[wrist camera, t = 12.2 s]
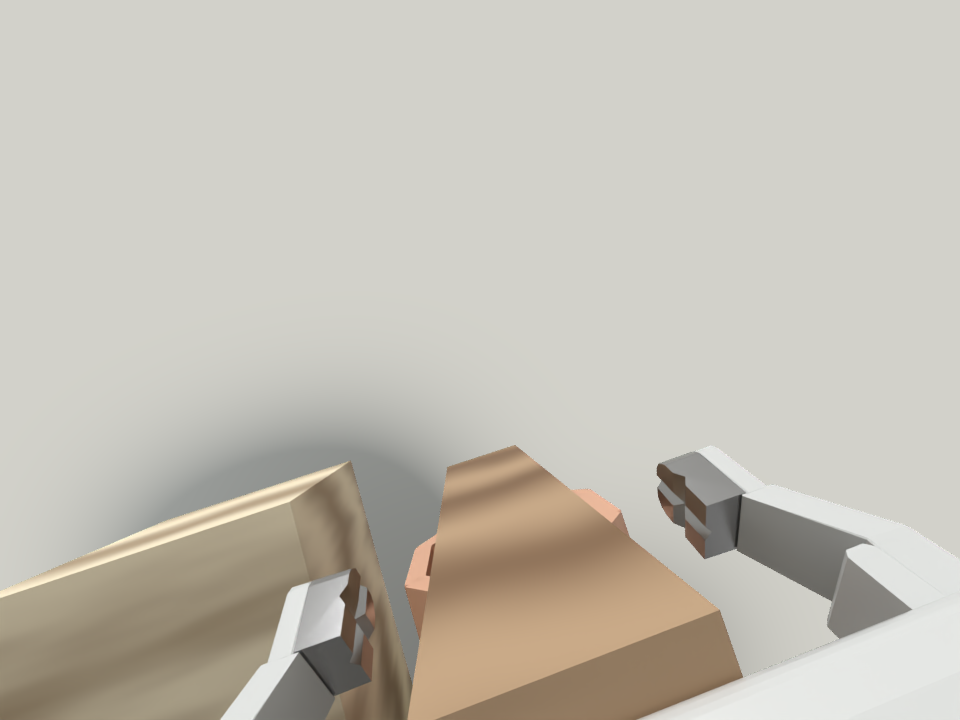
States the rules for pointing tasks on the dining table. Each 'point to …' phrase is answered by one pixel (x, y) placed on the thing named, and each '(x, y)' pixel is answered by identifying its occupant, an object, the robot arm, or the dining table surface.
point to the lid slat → (553, 609)
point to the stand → (193, 611)
